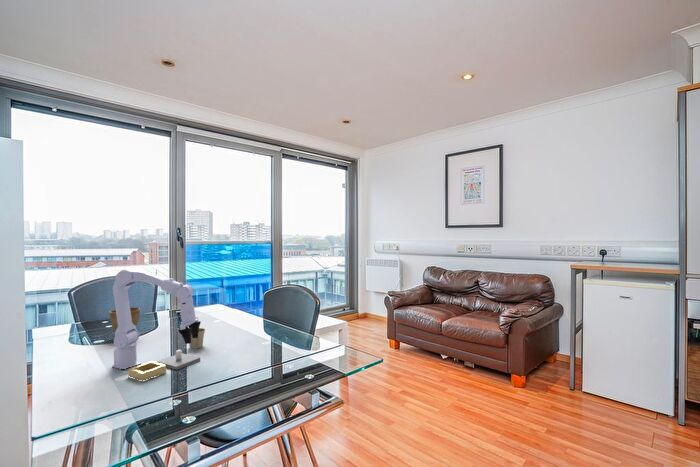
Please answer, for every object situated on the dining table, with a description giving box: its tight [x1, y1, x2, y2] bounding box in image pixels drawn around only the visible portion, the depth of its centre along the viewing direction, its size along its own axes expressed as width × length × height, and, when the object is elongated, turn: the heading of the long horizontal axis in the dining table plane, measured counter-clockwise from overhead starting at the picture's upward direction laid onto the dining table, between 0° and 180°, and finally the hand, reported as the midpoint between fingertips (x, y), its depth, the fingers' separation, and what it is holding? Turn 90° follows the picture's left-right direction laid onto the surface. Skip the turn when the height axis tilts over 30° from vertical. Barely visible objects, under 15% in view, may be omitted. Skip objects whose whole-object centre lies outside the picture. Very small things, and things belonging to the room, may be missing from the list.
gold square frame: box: [127, 360, 167, 381], centre depth 145 cm, size 10×10×4 cm
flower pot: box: [189, 327, 206, 350], centre depth 180 cm, size 9×9×9 cm
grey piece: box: [156, 349, 201, 371], centre depth 159 cm, size 14×12×6 cm
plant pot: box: [108, 306, 141, 333], centre depth 200 cm, size 15×15×16 cm
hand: (192, 340), depth 158 cm, fingers open, 7 cm apart
